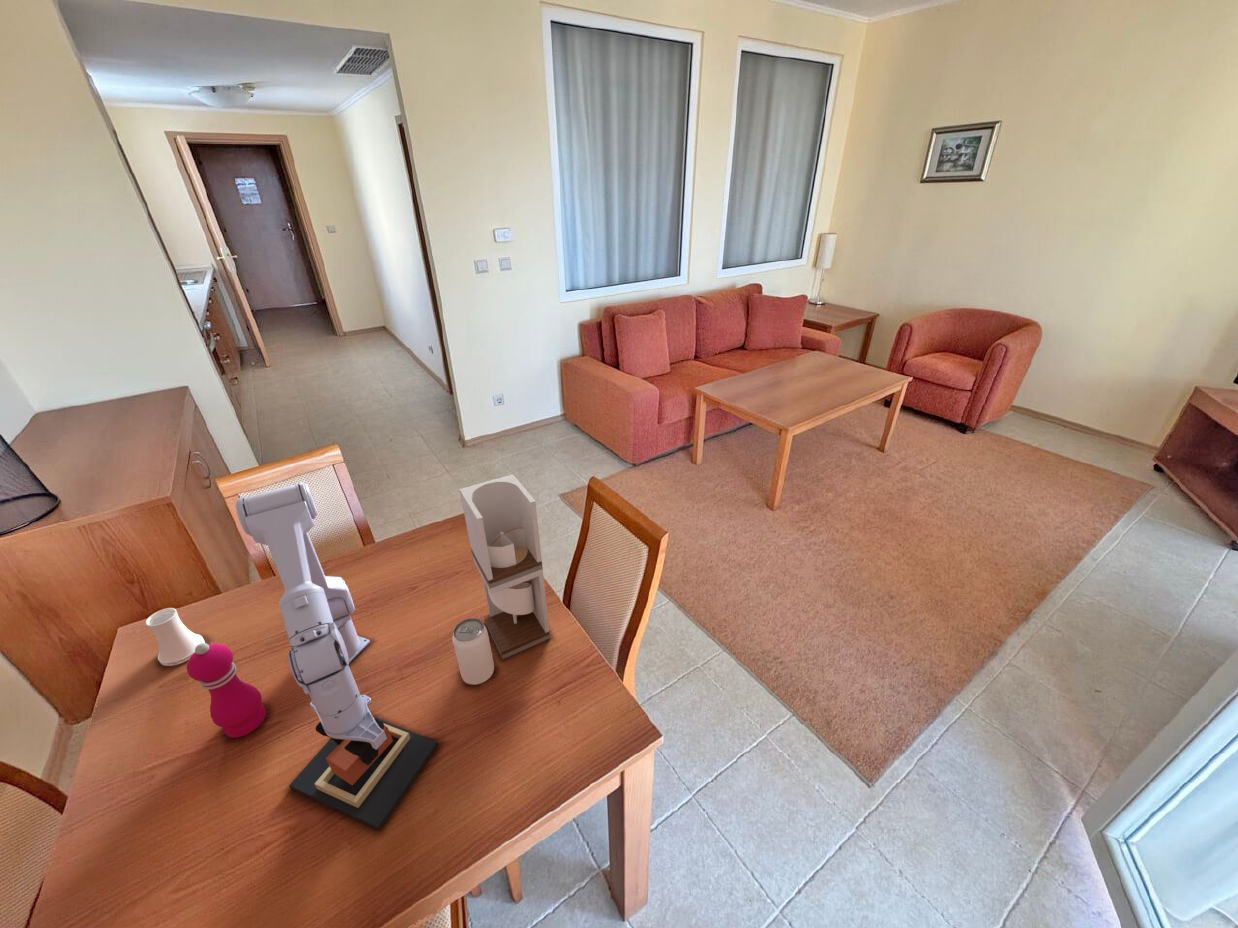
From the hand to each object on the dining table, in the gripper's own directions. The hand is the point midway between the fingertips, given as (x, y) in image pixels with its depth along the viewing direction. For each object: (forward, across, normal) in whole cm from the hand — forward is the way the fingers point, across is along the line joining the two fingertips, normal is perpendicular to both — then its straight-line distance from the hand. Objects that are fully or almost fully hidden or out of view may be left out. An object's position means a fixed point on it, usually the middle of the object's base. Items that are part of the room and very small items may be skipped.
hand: (361, 752), depth 81 cm
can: (+4, -4, -23) cm, 23 cm away
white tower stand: (+4, -5, -35) cm, 35 cm away
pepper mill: (+4, +27, +4) cm, 27 cm away
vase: (+4, +55, 0) cm, 55 cm away
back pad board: (+4, 0, 0) cm, 4 cm away
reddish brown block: (+1, 0, 0) cm, 1 cm away
